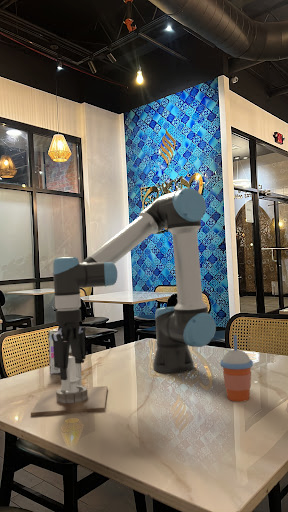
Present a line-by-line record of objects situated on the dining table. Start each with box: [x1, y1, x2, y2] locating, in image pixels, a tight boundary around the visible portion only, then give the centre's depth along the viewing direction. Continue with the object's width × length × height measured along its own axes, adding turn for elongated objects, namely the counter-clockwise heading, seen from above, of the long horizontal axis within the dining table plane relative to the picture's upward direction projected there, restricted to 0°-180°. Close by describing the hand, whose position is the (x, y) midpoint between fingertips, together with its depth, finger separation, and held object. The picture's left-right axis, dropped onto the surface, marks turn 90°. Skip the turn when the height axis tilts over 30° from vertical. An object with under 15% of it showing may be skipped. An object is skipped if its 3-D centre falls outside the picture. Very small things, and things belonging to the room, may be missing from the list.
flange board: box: [30, 385, 108, 417], centre depth 123 cm, size 20×20×4 cm
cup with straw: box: [220, 334, 254, 403], centre depth 119 cm, size 9×9×18 cm
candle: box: [66, 355, 80, 393], centre depth 123 cm, size 5×5×12 cm
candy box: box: [47, 327, 72, 375], centre depth 162 cm, size 14×6×16 cm, turn 168°
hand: (71, 387), depth 123 cm, fingers open, 5 cm apart
